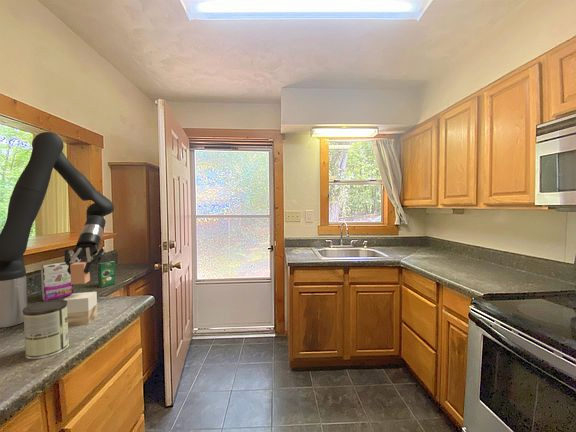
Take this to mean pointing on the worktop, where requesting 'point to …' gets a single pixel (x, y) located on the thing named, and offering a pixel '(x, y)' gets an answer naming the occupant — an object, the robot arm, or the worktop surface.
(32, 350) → the coffee can
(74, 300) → the cream tower block
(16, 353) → the worktop surface
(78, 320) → the oak tower block
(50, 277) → the candy bar box
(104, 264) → the coffee box
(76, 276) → the peach block
